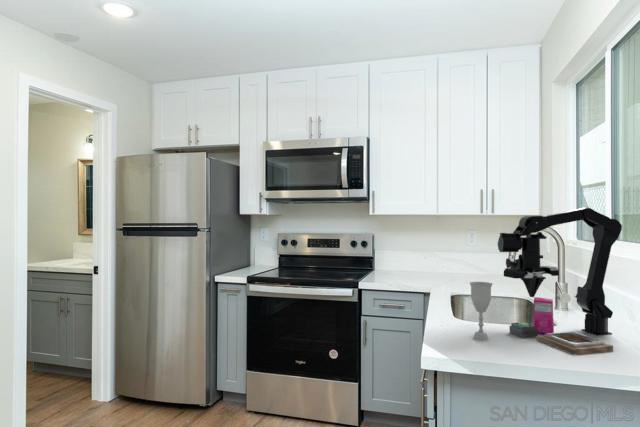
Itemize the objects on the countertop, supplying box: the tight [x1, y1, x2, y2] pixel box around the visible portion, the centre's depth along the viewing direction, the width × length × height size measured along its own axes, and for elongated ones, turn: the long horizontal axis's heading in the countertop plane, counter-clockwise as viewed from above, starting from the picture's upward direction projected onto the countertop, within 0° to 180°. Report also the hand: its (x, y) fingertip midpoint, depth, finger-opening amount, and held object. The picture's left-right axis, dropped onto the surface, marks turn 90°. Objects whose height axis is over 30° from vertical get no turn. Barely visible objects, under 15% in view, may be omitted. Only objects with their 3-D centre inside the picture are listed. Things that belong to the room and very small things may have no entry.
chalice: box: [469, 281, 493, 342], centre depth 131 cm, size 7×7×18 cm
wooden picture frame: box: [536, 330, 614, 355], centre depth 125 cm, size 14×14×2 cm
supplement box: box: [533, 296, 555, 335], centre depth 139 cm, size 6×6×12 cm
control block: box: [509, 321, 539, 339], centre depth 136 cm, size 6×6×4 cm
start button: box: [517, 321, 530, 326], centre depth 136 cm, size 3×3×1 cm
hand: (531, 296), depth 142 cm, fingers closed
